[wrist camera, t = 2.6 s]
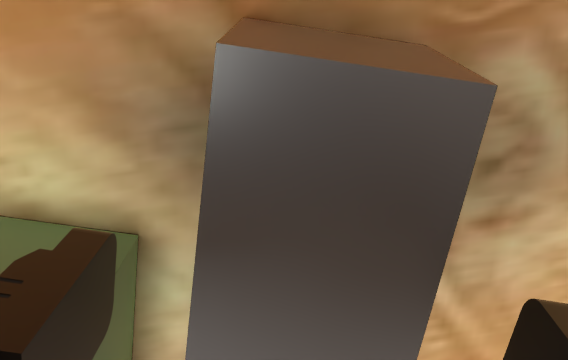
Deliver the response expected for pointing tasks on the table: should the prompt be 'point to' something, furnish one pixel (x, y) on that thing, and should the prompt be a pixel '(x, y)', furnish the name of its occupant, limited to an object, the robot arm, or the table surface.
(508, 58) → the table surface
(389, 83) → the grey box
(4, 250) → the green rectangular block
